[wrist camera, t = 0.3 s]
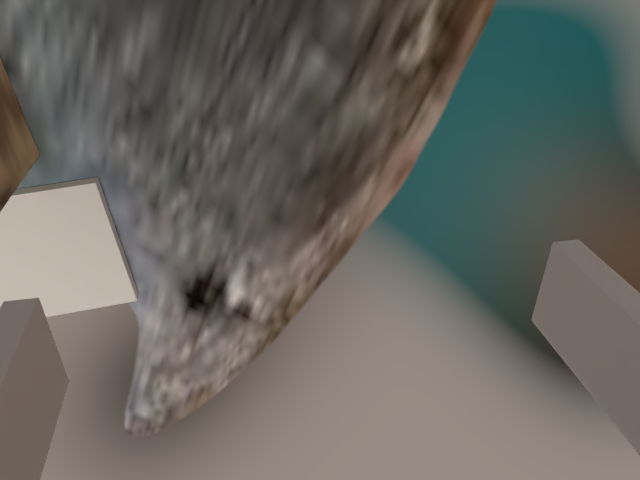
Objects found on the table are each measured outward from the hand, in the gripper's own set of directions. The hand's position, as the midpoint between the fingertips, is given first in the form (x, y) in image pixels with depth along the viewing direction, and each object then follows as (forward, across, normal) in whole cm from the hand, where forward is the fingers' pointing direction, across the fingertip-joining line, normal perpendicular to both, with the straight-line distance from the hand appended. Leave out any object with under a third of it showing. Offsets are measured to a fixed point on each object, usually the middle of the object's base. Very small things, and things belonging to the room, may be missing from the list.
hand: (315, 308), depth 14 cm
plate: (+27, -17, -14) cm, 35 cm away
